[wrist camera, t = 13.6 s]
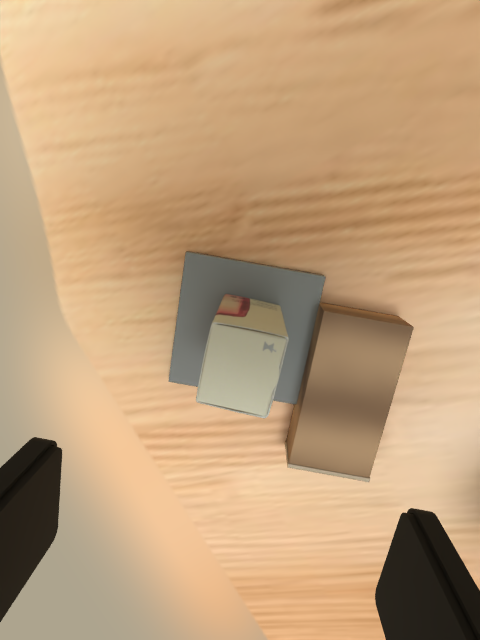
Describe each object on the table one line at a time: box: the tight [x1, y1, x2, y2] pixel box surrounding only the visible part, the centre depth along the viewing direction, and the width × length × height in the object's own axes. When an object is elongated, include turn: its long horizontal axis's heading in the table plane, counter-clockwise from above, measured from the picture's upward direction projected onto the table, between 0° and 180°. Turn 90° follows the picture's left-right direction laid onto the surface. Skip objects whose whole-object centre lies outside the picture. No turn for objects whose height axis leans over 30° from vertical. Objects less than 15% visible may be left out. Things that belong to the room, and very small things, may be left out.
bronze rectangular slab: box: [285, 302, 414, 482], centre depth 29 cm, size 12×6×3 cm, turn 170°
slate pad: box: [169, 251, 325, 405], centre depth 29 cm, size 10×10×1 cm
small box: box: [196, 294, 289, 418], centre depth 25 cm, size 5×4×8 cm
